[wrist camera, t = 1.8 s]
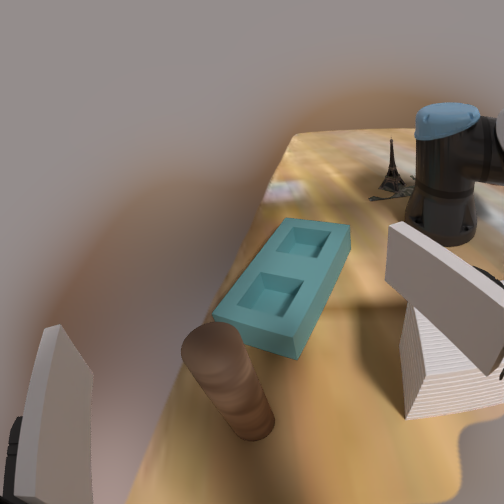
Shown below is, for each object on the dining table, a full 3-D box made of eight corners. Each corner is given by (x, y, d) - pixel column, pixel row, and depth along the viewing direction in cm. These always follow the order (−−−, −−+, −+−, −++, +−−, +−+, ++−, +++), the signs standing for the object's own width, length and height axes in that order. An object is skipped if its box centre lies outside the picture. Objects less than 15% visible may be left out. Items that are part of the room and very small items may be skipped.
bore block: (289, 239, 61) (285, 217, 58) (350, 248, 55) (349, 225, 52) (221, 336, 46) (211, 313, 43) (297, 360, 39) (292, 337, 37)
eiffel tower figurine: (369, 204, 66) (366, 146, 58) (357, 184, 74) (352, 132, 66) (429, 195, 64) (430, 140, 56) (411, 177, 72) (411, 127, 64)
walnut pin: (246, 398, 36) (203, 315, 27) (282, 412, 34) (253, 331, 25) (225, 430, 33) (169, 358, 24) (262, 447, 31) (219, 381, 21)
